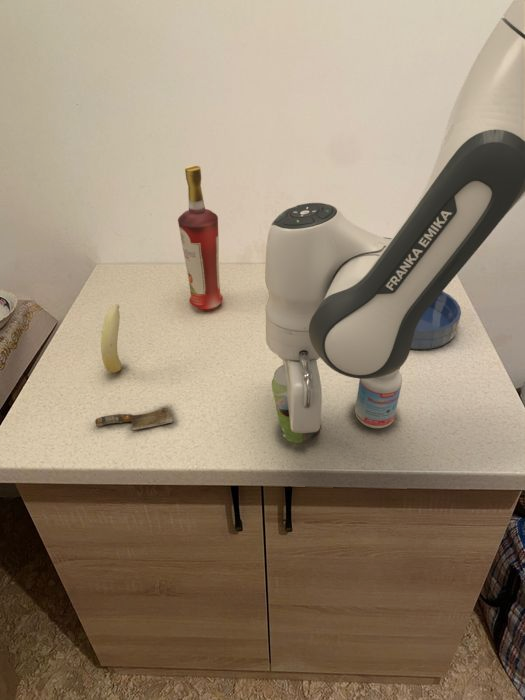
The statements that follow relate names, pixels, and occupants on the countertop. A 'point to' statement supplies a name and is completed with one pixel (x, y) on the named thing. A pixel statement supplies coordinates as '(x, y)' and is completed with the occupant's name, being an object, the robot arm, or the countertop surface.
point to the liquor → (200, 246)
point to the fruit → (111, 340)
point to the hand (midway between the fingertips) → (296, 406)
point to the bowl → (437, 323)
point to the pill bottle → (378, 400)
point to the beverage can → (286, 409)
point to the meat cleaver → (138, 419)
